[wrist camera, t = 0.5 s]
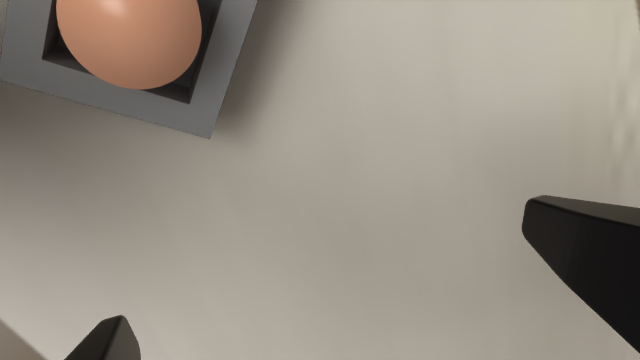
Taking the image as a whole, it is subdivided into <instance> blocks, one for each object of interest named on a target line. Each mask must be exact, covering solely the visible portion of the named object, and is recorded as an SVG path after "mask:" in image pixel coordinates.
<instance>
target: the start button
mask: <svg viewBox="0 0 640 360" xmlns="http://www.w3.org/2000/svg"><path fill="white" fill-rule="evenodd" d="M56 13H57V21H58V26H59V29H60V32H61V35H62V37H63V40H64V42H65V44H66V45H67V47H68V49H69V50H70V52H71V53H72V55H73V56H74V57H75V58H76V60H77V61H78V62H79V63H80V64H81V65H82V66H83V67H84V68H86V69H87V70H88V71H89V72H91V73H92V74H93V75H95V76H97V77H98V78H100V79H102V80H104V81H106V82H108V83H110V84H113V85H116V86H119V87H123V88H129V89H151V88H156V87H160V86H163V85H165V84H168V83H170V82H172V81H173V80H175V79H177V78H178V77H179V76H181V75H182V74H183V73H184V72H185V71H186V70H187V69H188V68H189V66H190V65H191V64H192V62H193V60H194V59H195V57H196V55H197V52H198V49H199V46H200V42H201V33H202V28H201V18H200V12H199V6H198V1H197V0H57V4H56Z"/></svg>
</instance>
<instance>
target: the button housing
mask: <svg viewBox="0 0 640 360" xmlns="http://www.w3.org/2000/svg"><path fill="white" fill-rule="evenodd" d="M197 1H198V6H199V12H200V18H201V28H202V33H201V42H200V46H199V49H198V52H197V55H196V57H195V59H194V60H193V62H192V64H191V65H190V66H189V68H188V69H187V70H186V71H185V72H184V73H183V74H182V75H181V76H179V77H178V78H177V79H175V80H173V81H172V82H170V83H168V84H165V85H163V86H160V87H156V88H151V89H129V88H123V87H119V86H116V85H113V84H110V83H108V82H106V81H104V80H102V79H100V78H98V77H97V76H95V75H93V74H92V73H91V72H89V71H88V70H87V69H86V68H84V67H83V66H82V65H81V64H80V63H79V62H78V61H77V60H76V58H75V57H74V56H73V55H72V53H71V52H70V50H69V49H68V47H67V45H66V44H65V42H64V40H63V37H62V35H61V32H60V29H59V26H58V21H57V13H56V4H57V0H8V6H7V13H6V20H5V27H4V35H3V42H2V49H1V56H0V81H3V82H7V83H10V84H14V85H17V86H21V87H25V88H28V89H32V90H35V91H39V92H43V93H46V94H50V95H53V96H57V97H60V98H64V99H68V100H71V101H75V102H78V103H82V104H86V105H89V106H93V107H96V108H100V109H104V110H107V111H111V112H114V113H118V114H121V115H125V116H129V117H132V118H136V119H139V120H143V121H147V122H150V123H154V124H157V125H161V126H165V127H168V128H172V129H175V130H179V131H182V132H186V133H190V134H193V135H197V136H200V137H204V138H208V139H210V137H211V134H212V132H213V129H214V126H215V123H216V120H217V117H218V114H219V111H220V108H221V105H222V103H223V100H224V97H225V94H226V91H227V88H228V85H229V82H230V79H231V76H232V74H233V71H234V68H235V65H236V62H237V59H238V56H239V53H240V50H241V47H242V44H243V42H244V39H245V36H246V33H247V30H248V27H249V24H250V21H251V18H252V15H253V13H254V10H255V7H256V4H257V1H258V0H197Z"/></svg>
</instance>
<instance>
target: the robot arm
mask: <svg viewBox="0 0 640 360" xmlns="http://www.w3.org/2000/svg"><path fill="white" fill-rule="evenodd" d="M522 232H523V235H524V237H525V239H526V240H527V241H528V242H529V243H530V245H531V246H532V247H533V248H534V249H535V250H536V251H537V253H538V254H539V255H540V256H541V257H542V258H543V259H544V261H545V262H546V263H547V264H548V265H549V266H550V267H551V269H552V270H553V271H554V272H555V273H556V274H557V275H558V276H559V278H560V279H561V280H562V281H563V282H564V283H565V284H566V285H567V286H568V287H569V288H570V289H571V290H572V291H573V292H574V293H575V294H577V295H578V296H579V297H580V298H581V299H582V300H583V301H584V302H585V303H586V304H587V305H588V306H589V307H590V308H592V309H593V310H594V311H595V312H596V313H597V314H598V315H599V316H600V317H601V318H602V319H603V320H604V321H605V322H606V323H608V324H609V325H610V326H611V327H612V328H613V329H614V330H615V331H616V332H617V333H618V334H619V335H620V336H621V337H623V338H624V339H625V340H626V341H627V342H628V343H629V344H630V345H631V346H632V347H633V348H634V349H635V350H636V351H638V352H639V353H640V208H634V207H627V206H620V205H612V204H605V203H598V202H591V201H584V200H576V199H569V198H562V197H555V196H547V195H542V196H538V197H535V198H531V199H529V200H528V201H527V202H526V205H525V210H524V216H523V222H522ZM64 360H141V354H140V347H139V344H138V341H137V339H136V337H135V335H134V333H133V331H132V329H131V327H130V325H129V323H128V321H127V319H126V318H125V317H124V316H123V315H119V316H115V317H112V318H108V319H105V320H102V321H101V322H100V323H99V324H98V325H97V326H96V327H95V328H94V329H93V330H92V331H91V332H90V333H89V334H88V335H87V336H86V337H85V338H84V339H83V340H82V342H81V343H80V344H79V345H78V346H77V347H76V348H75V349H74V350H73V351H72V352H71V353H70V354H69V355H68V356H67V357H66V358H65V359H64Z"/></svg>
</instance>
